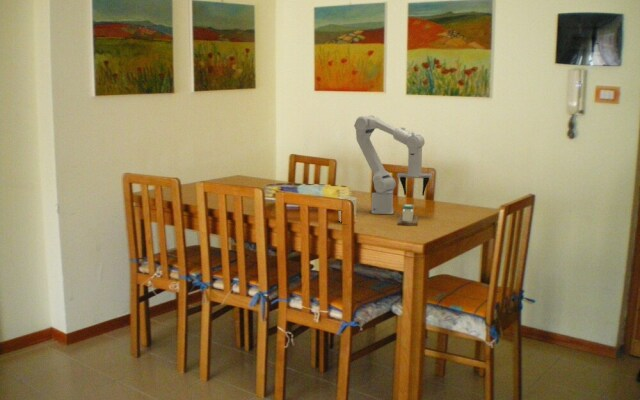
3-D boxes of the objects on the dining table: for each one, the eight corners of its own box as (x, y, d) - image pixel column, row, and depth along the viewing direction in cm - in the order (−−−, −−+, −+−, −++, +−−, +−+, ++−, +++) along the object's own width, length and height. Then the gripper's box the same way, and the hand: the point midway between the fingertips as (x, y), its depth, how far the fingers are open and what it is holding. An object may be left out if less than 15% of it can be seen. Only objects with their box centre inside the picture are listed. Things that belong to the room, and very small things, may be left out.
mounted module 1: (403, 215, 291) (403, 205, 290) (404, 213, 295) (404, 204, 295) (413, 215, 290) (413, 206, 290) (413, 213, 295) (413, 204, 294)
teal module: (402, 218, 286) (403, 206, 285) (403, 216, 290) (403, 204, 289) (412, 218, 285) (413, 206, 284) (412, 216, 289) (413, 204, 288)
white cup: (343, 219, 292) (343, 195, 291) (359, 221, 288) (360, 197, 287) (334, 222, 286) (334, 198, 284) (351, 224, 282) (351, 200, 280)
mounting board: (397, 225, 281) (397, 220, 281) (399, 217, 296) (399, 213, 296) (417, 225, 280) (417, 221, 279) (418, 217, 295) (418, 213, 295)
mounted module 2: (402, 220, 280) (402, 210, 280) (402, 218, 285) (403, 208, 284) (412, 221, 280) (412, 211, 279) (412, 218, 284) (412, 209, 283)
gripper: (397, 164, 291) (396, 195, 294) (432, 165, 289) (431, 196, 292) (398, 162, 298) (397, 193, 301) (432, 163, 296) (431, 194, 298)
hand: (414, 194), depth 297 cm, fingers open, 7 cm apart
